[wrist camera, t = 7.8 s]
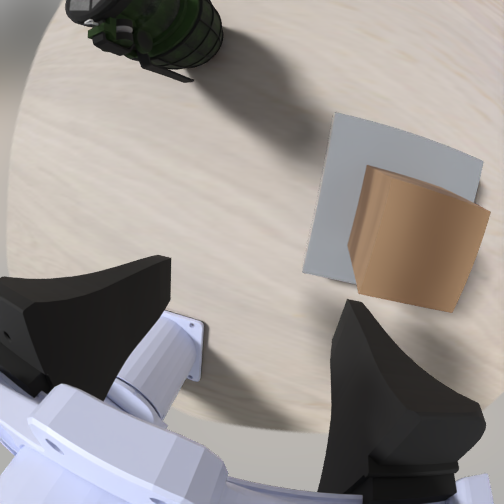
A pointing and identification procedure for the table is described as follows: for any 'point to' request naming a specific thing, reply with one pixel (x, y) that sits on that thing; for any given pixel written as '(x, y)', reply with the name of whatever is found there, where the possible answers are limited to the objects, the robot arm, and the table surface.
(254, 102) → the table surface
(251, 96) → the table surface
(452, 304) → the walnut block
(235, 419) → the table surface
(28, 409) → the robot arm
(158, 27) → the grenade
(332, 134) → the gray block
